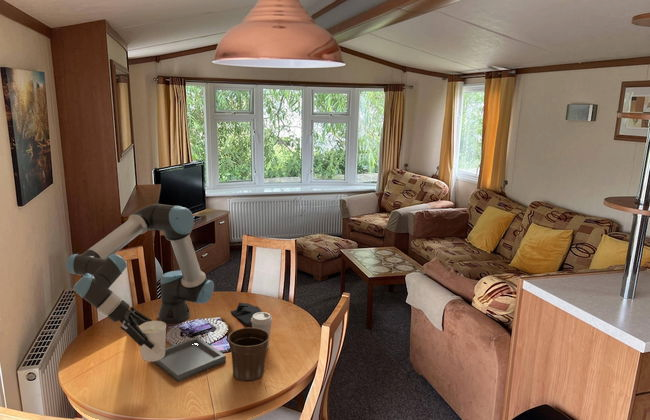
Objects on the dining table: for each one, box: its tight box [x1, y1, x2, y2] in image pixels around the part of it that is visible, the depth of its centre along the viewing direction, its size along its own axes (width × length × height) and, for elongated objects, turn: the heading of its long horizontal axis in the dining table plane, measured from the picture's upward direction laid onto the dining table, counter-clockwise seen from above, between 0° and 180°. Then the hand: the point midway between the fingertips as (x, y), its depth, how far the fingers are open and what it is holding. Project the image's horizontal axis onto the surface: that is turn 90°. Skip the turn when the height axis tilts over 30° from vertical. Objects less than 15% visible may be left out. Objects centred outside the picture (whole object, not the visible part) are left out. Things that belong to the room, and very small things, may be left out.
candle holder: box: [138, 320, 167, 363], centre depth 179 cm, size 10×10×12 cm
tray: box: [152, 336, 227, 383], centre depth 200 cm, size 22×22×3 cm
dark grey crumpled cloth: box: [230, 302, 263, 326], centre depth 243 cm, size 15×22×5 cm
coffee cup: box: [251, 311, 274, 350], centre depth 213 cm, size 10×10×15 cm
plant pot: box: [227, 327, 270, 381], centre depth 192 cm, size 16×16×16 cm
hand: (162, 344), depth 180 cm, fingers closed on candle holder, 9 cm apart
